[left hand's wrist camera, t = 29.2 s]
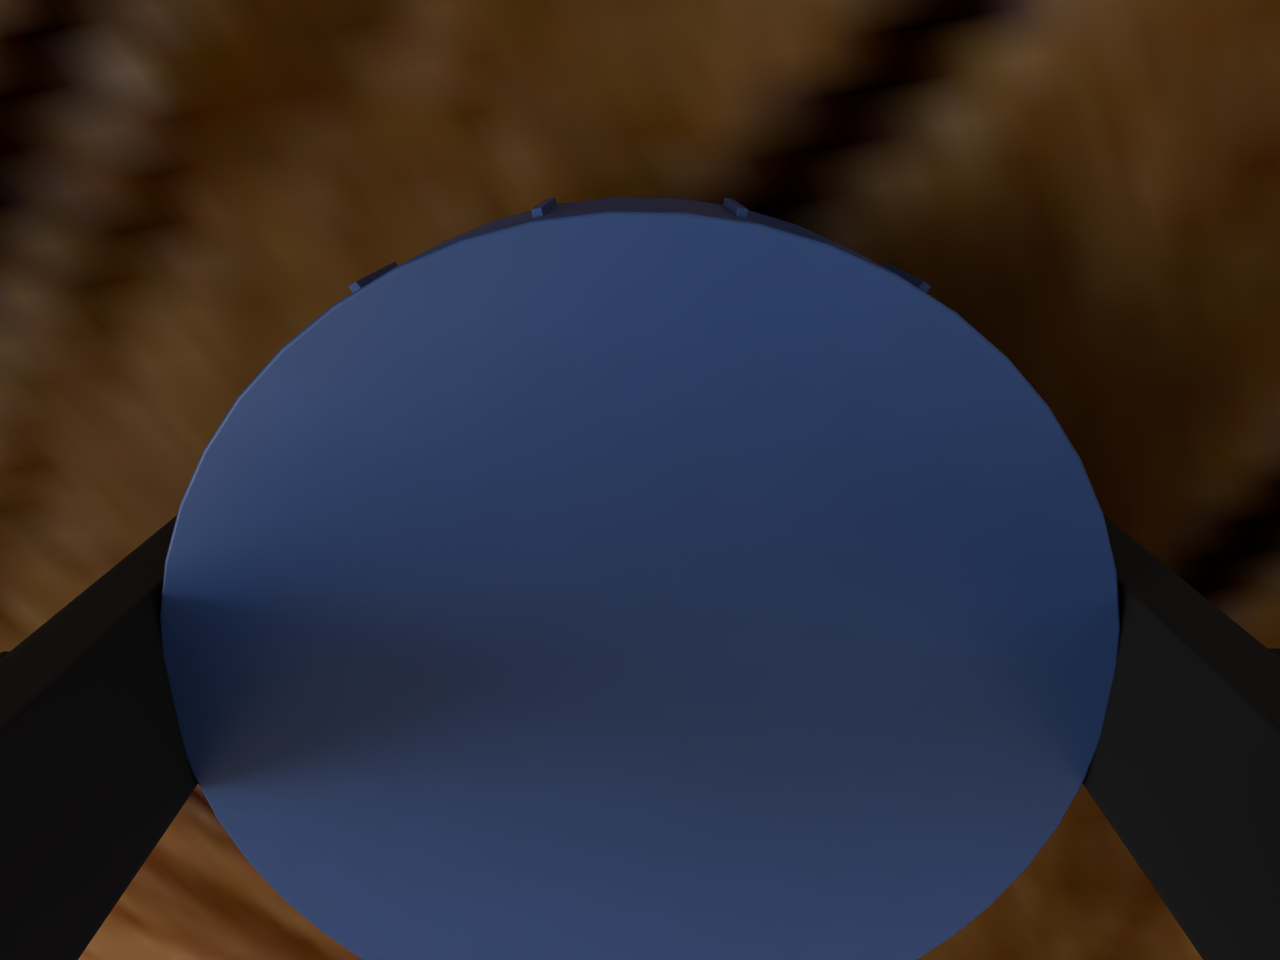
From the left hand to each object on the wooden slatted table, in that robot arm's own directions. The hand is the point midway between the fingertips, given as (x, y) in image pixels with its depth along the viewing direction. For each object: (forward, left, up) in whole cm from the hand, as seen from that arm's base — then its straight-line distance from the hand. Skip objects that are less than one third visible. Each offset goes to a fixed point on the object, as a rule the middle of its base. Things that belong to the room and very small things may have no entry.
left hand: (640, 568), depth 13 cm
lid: (0, 0, +3) cm, 3 cm away
